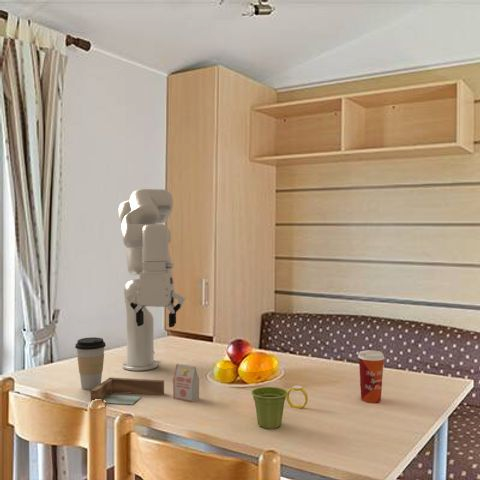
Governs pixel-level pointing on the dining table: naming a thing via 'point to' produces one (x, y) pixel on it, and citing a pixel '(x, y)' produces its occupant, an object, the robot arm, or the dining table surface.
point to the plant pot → (269, 406)
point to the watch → (297, 388)
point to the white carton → (186, 383)
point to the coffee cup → (90, 361)
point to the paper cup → (371, 375)
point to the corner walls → (126, 389)
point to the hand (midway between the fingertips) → (156, 326)
